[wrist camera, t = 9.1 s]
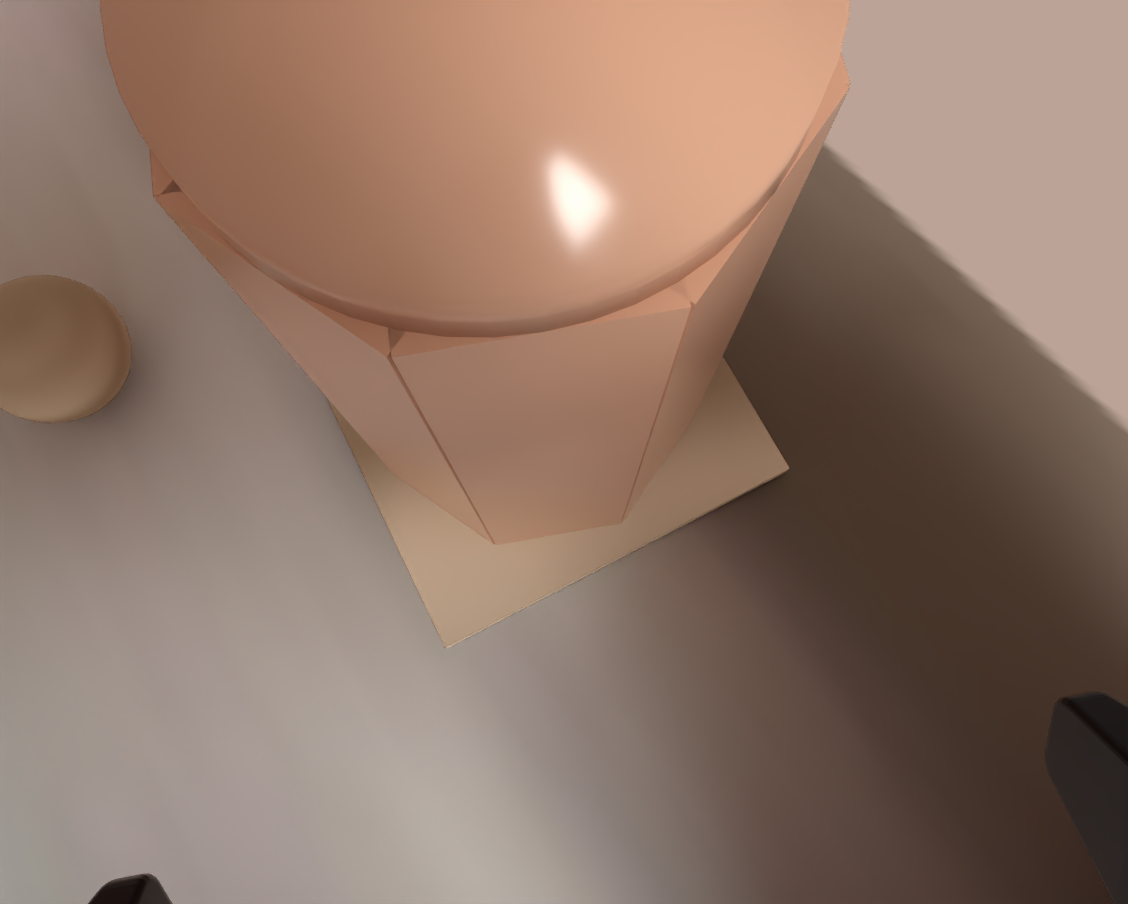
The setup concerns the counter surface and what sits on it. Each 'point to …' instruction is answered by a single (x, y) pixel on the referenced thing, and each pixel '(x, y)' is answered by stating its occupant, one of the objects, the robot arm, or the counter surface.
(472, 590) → the coaster
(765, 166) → the brown rounded shape
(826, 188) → the counter surface
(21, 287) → the wooden ball
